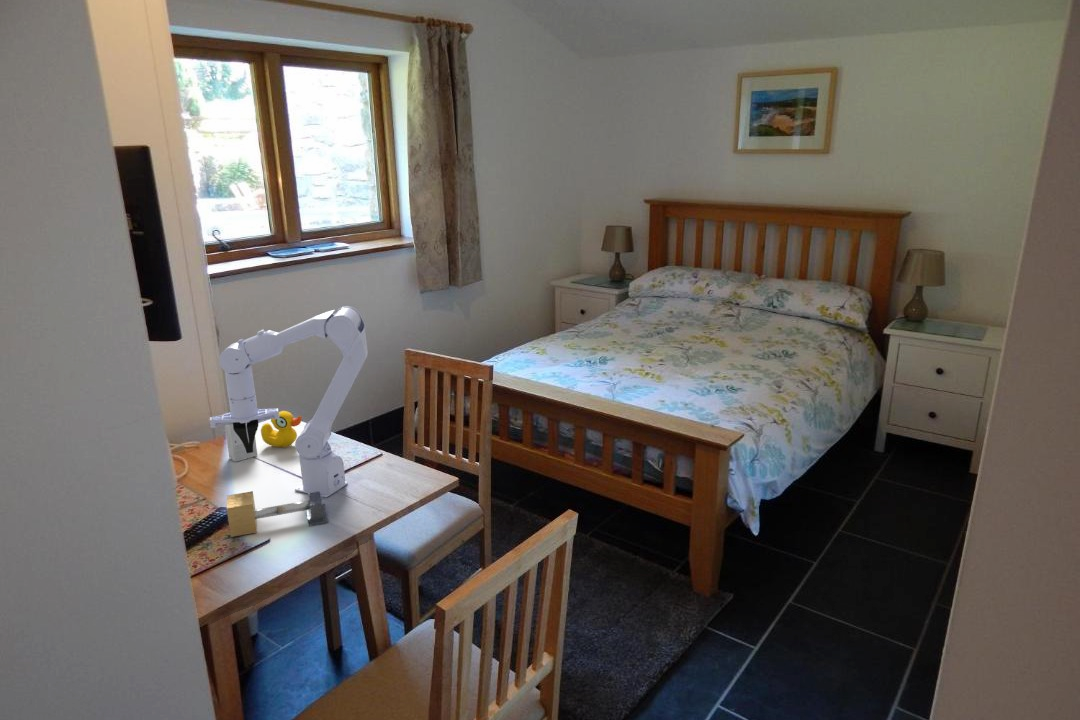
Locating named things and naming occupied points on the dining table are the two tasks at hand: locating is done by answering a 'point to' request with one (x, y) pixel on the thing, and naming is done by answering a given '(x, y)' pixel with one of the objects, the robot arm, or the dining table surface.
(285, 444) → the duckling
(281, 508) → the shaft inner
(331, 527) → the dining table surface
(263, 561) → the dining table surface
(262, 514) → the shaft outer
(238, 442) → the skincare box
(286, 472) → the dining table surface
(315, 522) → the pillow block
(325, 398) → the robot arm
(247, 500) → the block
